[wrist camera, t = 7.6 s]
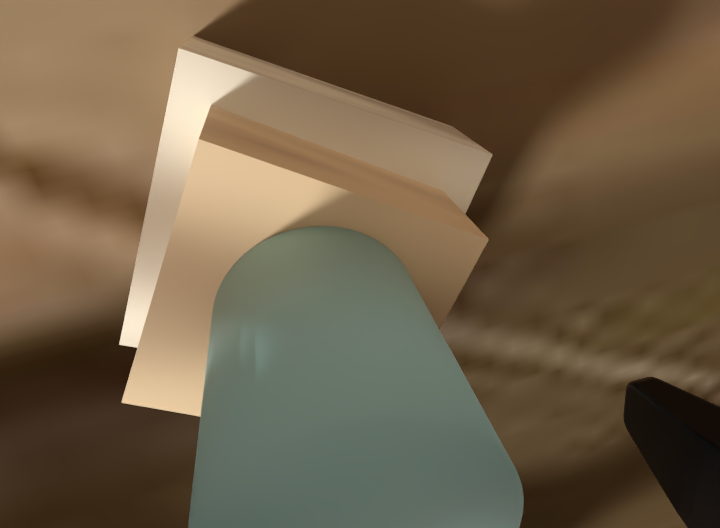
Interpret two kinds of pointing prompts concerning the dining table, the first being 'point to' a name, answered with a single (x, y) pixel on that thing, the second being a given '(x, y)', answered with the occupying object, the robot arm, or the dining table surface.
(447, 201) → the oak top block
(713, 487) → the robot arm
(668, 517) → the dining table surface
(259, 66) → the birch base block
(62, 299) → the dining table surface
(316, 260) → the teal cylinder
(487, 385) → the dining table surface
